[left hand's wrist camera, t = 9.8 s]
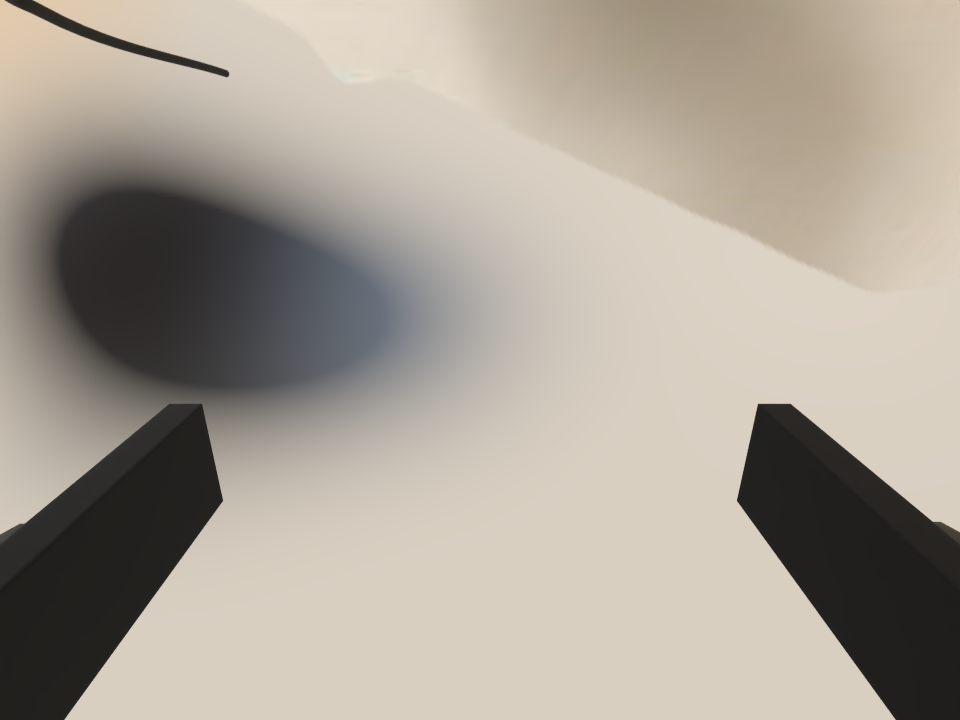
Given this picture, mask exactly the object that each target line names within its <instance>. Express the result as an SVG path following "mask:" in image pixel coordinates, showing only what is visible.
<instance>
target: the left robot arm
mask: <svg viewBox="0 0 960 720" xmlns="http://www.w3.org/2000/svg"><path fill="white" fill-rule="evenodd" d="M5 1H6V2H8V3H10V4H12V5H13V6H16V7H18V8H20V9H22V10H25V11H27V12H29V13H31V14H33V15H35V16H37V17H39V18H42V19H44V20H46V21H48V22H50V23H52V24H54V25H56V26H58V27H60V28H63V29H65V30H67V31H70V32H72V33H74V34H77V35H79V36H82V37H85V38H88V39H90V40H93V41H96V42H98V43H101V44H104V45H107V46H111V47H114V48H117V49H120V50H124V51H127V52H131V53H134V54H138V55H141V56H145V57H149V58H153V59H157V60H161V61H165V62H169V63H174V64H178V65H182V66H186V67H190V68H194V69H198V70H202V71H206V72H209V73H213V74H217V75H220V76H223V77H229V72H228V70H225V69H222V68H219V67H216V66H213V65H209V64H206V63H203V62H199V61H195V60H192V59H188V58H185V57H181V56H177V55H173V54H170V53H166V52H162V51H159V50H155V49H151V48H148V47H144V46H141V45H138V44H134V43H131V42H128V41H125V40H122V39H119V38H116V37H113V36H110V35H107V34H105V33H102V32H99V31H97V30H94V29H92V28H89V27H87V26H84V25H82V24H80V23H78V22H75V21H73V20H71V19H69V18H67V17H65V16H63V15H61V14H59V13H57V12H55V11H53V10H51V9H49V8H47V7H45V6H44V5H42V4H40V3H38V2H36V1H34V0H5ZM222 501H223V499H222V494H221V489H220V485H219V480H218V475H217V471H216V466H215V462H214V457H213V453H212V448H211V443H210V439H209V434H208V430H207V425H206V421H205V416H204V411H203V407H202V404H169V405H168V406H166V407H165V408H164V409H163V410H162V411H160V412H159V413H158V414H157V415H156V416H154V417H153V418H152V419H151V420H149V421H148V422H147V423H146V424H145V425H143V426H142V427H141V428H140V429H139V430H138V431H136V432H135V433H134V434H133V435H131V436H130V437H129V438H128V439H127V440H125V441H124V442H123V443H122V444H121V445H119V446H118V447H117V448H116V449H115V450H113V451H112V452H111V453H110V454H108V455H107V456H106V457H105V458H104V459H102V460H101V461H100V462H99V463H98V464H96V465H95V466H94V467H93V468H92V469H90V470H89V471H88V472H87V473H86V474H84V475H83V476H82V477H81V478H80V479H78V480H77V481H76V482H75V483H74V484H72V485H71V486H70V487H69V488H67V489H66V490H65V491H64V492H63V493H61V494H60V495H59V496H58V497H57V498H55V499H54V500H53V501H52V502H51V503H49V504H48V505H47V506H46V507H45V508H43V509H42V510H41V511H40V512H39V513H37V514H36V515H35V516H34V517H33V518H31V519H30V520H29V521H28V522H26V523H25V524H19V525H17V526H15V527H13V528H11V529H10V530H8V531H6V532H4V533H2V534H1V535H0V720H64V719H65V718H66V717H67V715H68V714H69V712H70V711H71V710H72V708H73V707H74V705H75V704H76V703H77V701H78V700H79V699H80V697H81V696H82V695H83V693H84V692H85V690H86V689H87V688H88V686H89V685H90V683H91V682H92V681H93V679H94V678H95V677H96V675H97V674H98V672H99V671H100V670H101V668H102V667H103V666H104V664H105V663H106V661H107V660H108V659H109V657H110V656H111V654H112V653H113V652H114V650H115V649H116V648H117V646H118V645H119V643H120V642H121V641H122V639H123V638H124V637H125V635H126V634H127V632H128V631H129V630H130V628H131V627H132V626H133V624H134V623H135V621H136V620H137V619H138V617H139V616H140V614H141V613H142V612H143V610H144V609H145V608H146V606H147V605H148V604H149V602H150V601H151V599H152V598H153V597H154V595H155V594H156V592H157V591H158V590H159V588H160V587H161V586H162V584H163V583H164V581H165V580H166V579H167V577H168V576H169V575H170V573H171V572H172V570H173V569H174V568H175V566H176V565H177V564H178V562H179V561H180V559H181V558H182V557H183V555H184V554H185V552H186V551H187V550H188V548H189V547H190V546H191V544H192V543H193V541H194V540H195V539H196V537H197V536H198V535H199V533H200V532H201V530H202V529H203V528H204V526H205V525H206V523H207V522H208V521H209V519H210V518H211V517H212V515H213V514H214V513H215V511H216V510H217V508H218V507H219V506H220V504H221V503H222ZM737 501H738V503H739V504H740V506H741V507H742V508H743V510H744V511H745V513H746V514H747V515H748V517H749V518H750V519H751V521H752V522H753V523H754V525H755V526H756V528H757V529H758V530H759V532H760V533H761V535H762V536H763V537H764V539H765V540H766V541H767V543H768V544H769V546H770V547H771V548H772V550H773V551H774V552H775V554H776V555H777V557H778V558H779V559H780V561H781V562H782V564H783V565H784V566H785V568H786V569H787V570H788V572H789V573H790V575H791V576H792V577H793V579H794V580H795V581H796V583H797V584H798V585H799V587H800V588H801V590H802V591H803V592H804V594H805V595H806V597H807V598H808V599H809V601H810V602H811V604H812V605H813V606H814V608H815V609H816V610H817V612H818V613H819V615H820V616H821V617H822V619H823V620H824V621H825V623H826V624H827V626H828V627H829V628H830V630H831V631H832V632H833V634H834V635H835V637H836V638H837V639H838V641H839V642H840V643H841V645H842V646H843V648H844V649H845V650H846V652H847V653H848V655H849V656H850V657H851V659H852V660H853V661H854V663H855V664H856V666H857V667H858V668H859V670H860V671H861V672H862V674H863V675H864V677H865V678H866V679H867V681H868V682H869V683H870V685H871V686H872V688H873V689H874V690H875V692H876V693H877V695H878V696H879V697H880V699H881V700H882V701H883V703H884V704H885V706H886V707H887V708H888V710H889V711H890V712H891V714H892V715H893V717H894V718H895V719H896V720H960V532H958V531H956V530H954V529H953V528H951V527H949V526H947V525H945V524H943V523H942V522H932V521H931V520H930V519H929V518H928V517H926V516H925V515H924V514H923V513H921V512H920V511H919V510H918V509H917V508H915V507H914V506H913V505H912V504H910V503H909V502H908V501H907V500H906V499H905V498H903V497H902V496H901V495H900V494H899V493H897V492H896V491H895V490H894V489H892V488H891V487H890V486H889V485H888V484H887V483H885V482H884V481H883V480H882V479H880V478H879V477H878V476H877V475H876V474H874V473H873V472H872V471H871V470H870V469H868V468H867V467H866V466H865V465H864V464H862V463H861V462H860V461H859V460H858V459H856V458H855V457H854V456H853V455H852V454H850V453H849V452H848V451H847V450H845V449H844V448H843V447H842V446H841V445H839V444H838V443H837V442H836V441H835V440H833V439H832V438H831V437H830V436H829V435H827V434H826V433H825V432H824V431H823V430H821V429H820V428H819V427H818V426H817V425H815V424H814V423H813V422H812V421H810V420H809V419H808V418H807V417H806V416H804V415H803V414H802V413H801V412H800V411H798V410H797V409H796V408H795V407H794V406H792V405H791V404H758V407H757V411H756V416H755V420H754V425H753V430H752V434H751V439H750V443H749V448H748V452H747V457H746V462H745V466H744V471H743V475H742V480H741V485H740V489H739V494H738V498H737Z"/></svg>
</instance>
